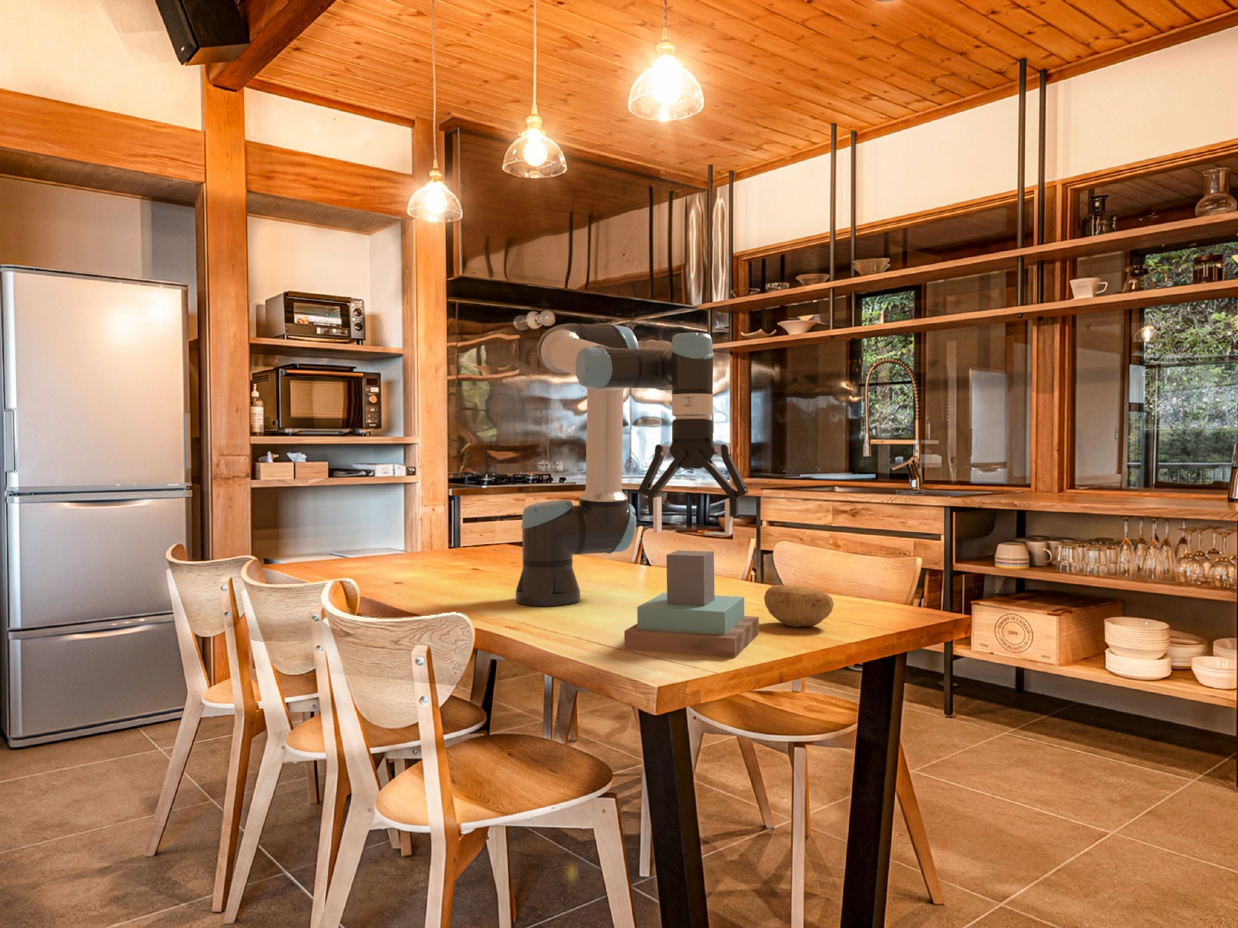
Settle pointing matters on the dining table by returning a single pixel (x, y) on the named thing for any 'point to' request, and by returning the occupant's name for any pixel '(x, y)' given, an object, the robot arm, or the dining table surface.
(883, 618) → the dining table surface
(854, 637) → the dining table surface
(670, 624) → the block top
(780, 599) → the potato
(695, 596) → the block
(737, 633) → the block bottom
